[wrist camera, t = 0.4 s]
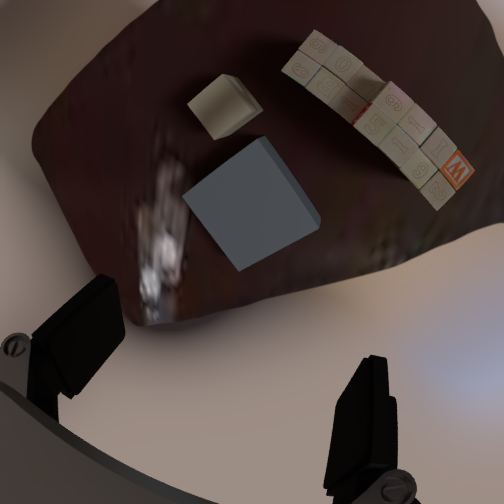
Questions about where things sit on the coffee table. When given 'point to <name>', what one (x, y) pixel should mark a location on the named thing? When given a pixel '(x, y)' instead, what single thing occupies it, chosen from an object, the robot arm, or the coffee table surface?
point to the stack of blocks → (381, 116)
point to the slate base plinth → (253, 205)
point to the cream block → (224, 106)
